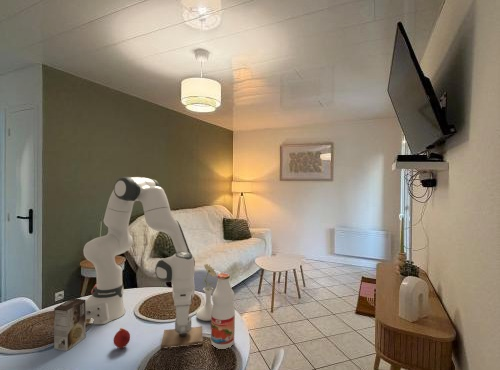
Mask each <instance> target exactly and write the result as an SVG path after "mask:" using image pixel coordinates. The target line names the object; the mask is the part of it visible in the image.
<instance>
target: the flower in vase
mask: <svg viewBox="0 0 500 370" xmlns="http://www.w3.org/2000/svg"><path fill="white" fill-rule="evenodd" d="M203 267H204V269H205V271H206V272H207V274H206V277H205V278H203V279H202V280H203V282H204V283H205V285H206V286H205V287H203V288H202V290H203V291H204V294H205V303H204V305H203V306H201V307H200V308H199V309H198V310H197V312H196V314H195V316H196V317H197V319H199V321H200V320H201V321H204V322H205V321H207V322H208V321H211V311H212V306H213V303H212V301H211V300H212V294H213V292H214V290H215V289H214V287H212V286H210V285H211V284H213V282H210V283H208V282H207V278H208V275H211V276H212V277H217V273H216V271H215V268H213V267H212V266H211V265H210V264H208V263H205V264H203Z"/></svg>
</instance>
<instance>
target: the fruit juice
mask: <svg viewBox="0 0 500 370" xmlns="http://www.w3.org/2000/svg"><path fill="white" fill-rule="evenodd" d="M216 277H217V283H216V287H215V289H213V291H212V293H211V300H212V301H211V302H212V305H213V306H212V311H211V320H210V321H211V323H210V326H211V329H210V332H211V333H210V343H211V344H210V345H211V346H212V345H213V346H214V347H216V348H218V349H226V348H228V347H230V346H232V345H233V346H234V344H235V328H236V327H235V325H236V322H235V318H236V313H235V312H236V308H235V305H234V301H235V292H234V290H233V289H232V286H231V283H230V278H231V277H230V273H227V272H219V273H218V274H217V275H216ZM213 346H212V347H213ZM233 346H232V347H233ZM214 347H213V348H214ZM218 349H217V350H218ZM226 350H227V349H226Z"/></svg>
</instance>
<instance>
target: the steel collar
mask: <svg viewBox="0 0 500 370" xmlns="http://www.w3.org/2000/svg"><path fill="white" fill-rule="evenodd" d="M191 327H192V316H190V315H189V316H188V323H187V325H186V326H185V331H181V327H180V326H178V325H177V317H175V322H174V329H175V332H177V333H179V334H182V333H187V332H189V331H191Z"/></svg>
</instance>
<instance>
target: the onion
mask: <svg viewBox="0 0 500 370" xmlns="http://www.w3.org/2000/svg"><path fill="white" fill-rule="evenodd" d="M130 340H131V334H130V332H129V331H128V330H127V329H125V328H123V327H120V328H119V330H118V331H117V332H116V333H115V335H114V337H113V345H114V346H115V347H117V348H119V349H123V348H125V347H127V346H128V345H129V343H130Z"/></svg>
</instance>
